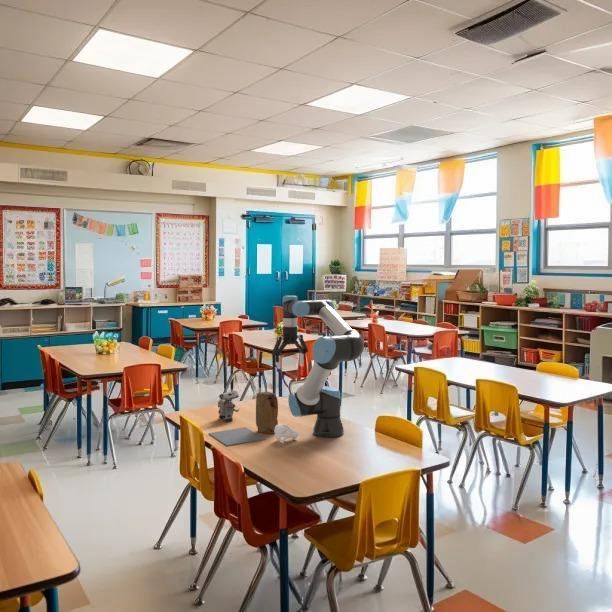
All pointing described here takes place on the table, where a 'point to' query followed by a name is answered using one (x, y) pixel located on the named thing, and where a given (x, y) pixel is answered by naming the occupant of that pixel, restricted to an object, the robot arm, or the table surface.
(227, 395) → the figurine
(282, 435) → the white lumpy piece
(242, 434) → the mat
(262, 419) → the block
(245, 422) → the table surface
